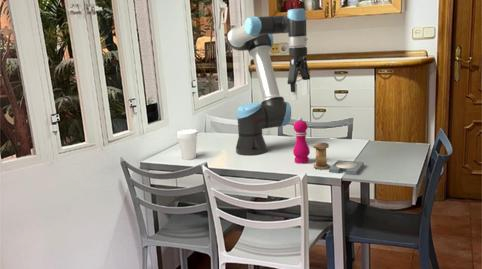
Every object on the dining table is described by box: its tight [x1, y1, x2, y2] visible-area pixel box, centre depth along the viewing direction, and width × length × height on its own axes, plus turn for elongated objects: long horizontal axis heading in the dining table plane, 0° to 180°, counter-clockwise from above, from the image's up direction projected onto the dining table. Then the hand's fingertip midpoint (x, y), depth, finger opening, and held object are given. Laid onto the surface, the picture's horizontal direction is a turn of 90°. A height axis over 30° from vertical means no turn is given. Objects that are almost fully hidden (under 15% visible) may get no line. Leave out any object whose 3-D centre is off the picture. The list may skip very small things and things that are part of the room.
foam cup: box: [176, 129, 198, 161], centre depth 221 cm, size 10×9×13 cm
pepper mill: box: [292, 116, 311, 164], centre depth 203 cm, size 7×7×20 cm
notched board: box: [328, 159, 365, 176], centre depth 190 cm, size 11×13×2 cm
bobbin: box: [312, 142, 330, 171], centre depth 193 cm, size 6×6×10 cm
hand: (299, 97), depth 199 cm, fingers open, 13 cm apart
